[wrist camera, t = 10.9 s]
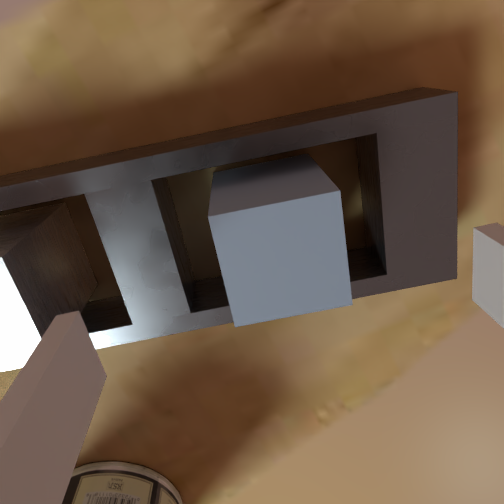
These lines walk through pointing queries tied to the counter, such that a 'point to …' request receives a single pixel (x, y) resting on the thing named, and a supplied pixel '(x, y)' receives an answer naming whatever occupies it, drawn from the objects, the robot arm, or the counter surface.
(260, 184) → the blue-grey rectangular block
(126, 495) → the coffee can
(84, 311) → the dark grey compartment tray
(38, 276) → the pale wooden cube
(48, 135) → the counter surface
